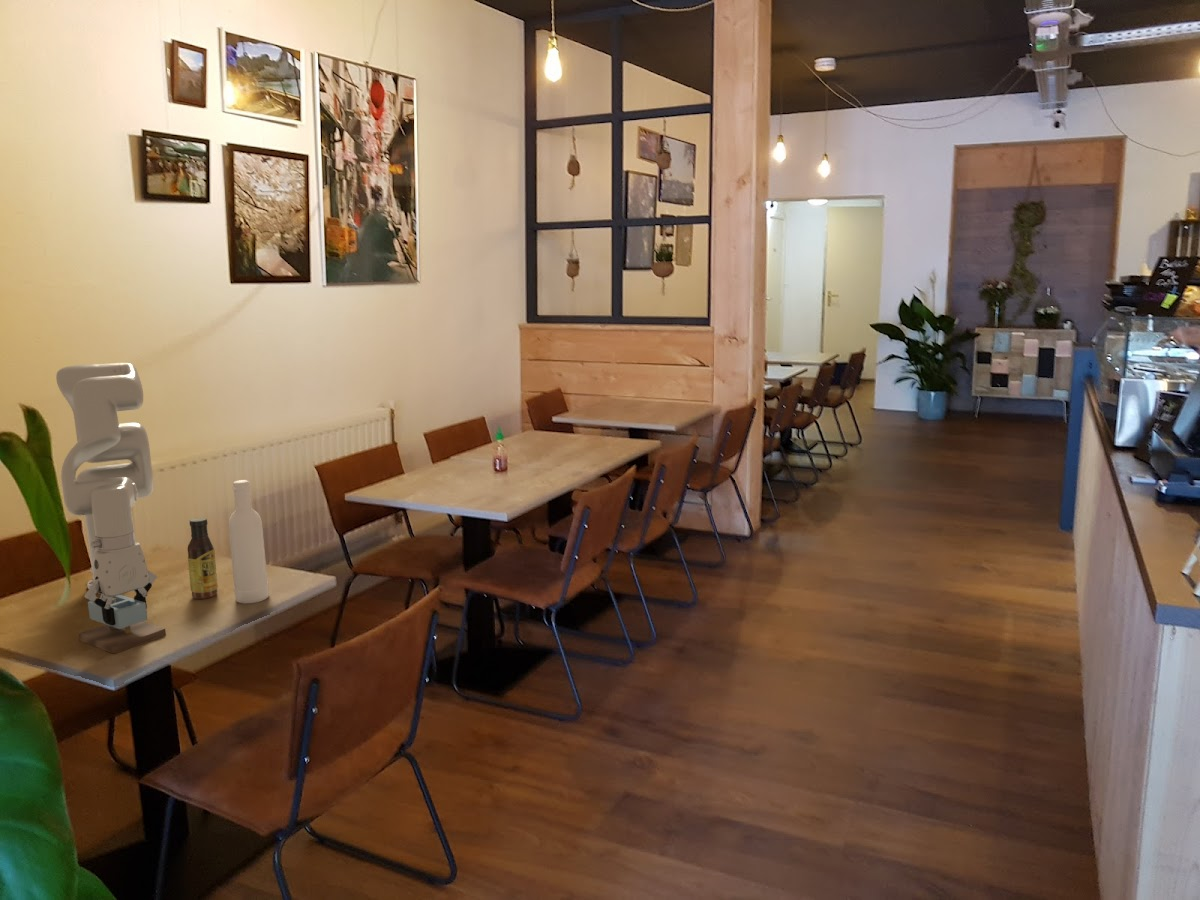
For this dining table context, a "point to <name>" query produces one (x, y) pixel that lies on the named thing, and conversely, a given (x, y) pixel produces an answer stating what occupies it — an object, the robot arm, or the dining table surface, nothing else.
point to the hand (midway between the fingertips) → (125, 618)
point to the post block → (121, 636)
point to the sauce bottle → (201, 561)
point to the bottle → (247, 548)
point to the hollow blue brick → (121, 611)
